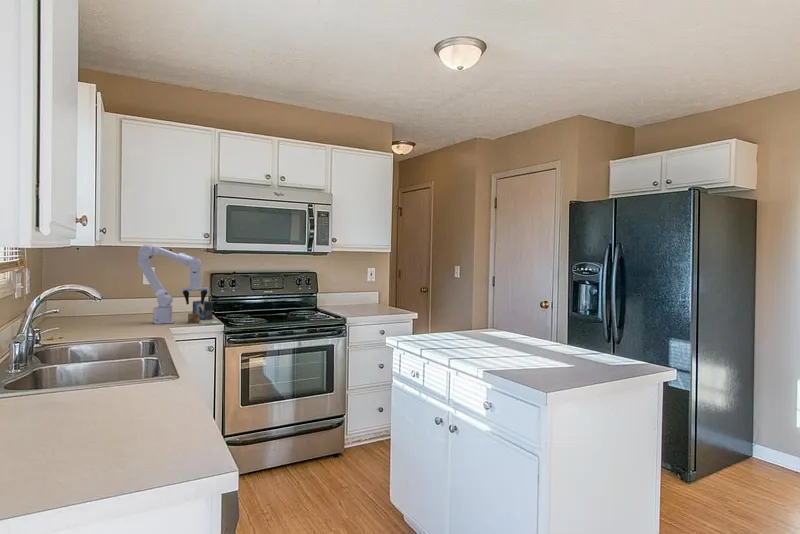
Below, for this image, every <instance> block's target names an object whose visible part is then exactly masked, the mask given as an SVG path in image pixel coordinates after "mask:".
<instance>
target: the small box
mask: <svg viewBox="0 0 800 534" xmlns="http://www.w3.org/2000/svg"><path fill="white" fill-rule="evenodd" d="M213 303H214V302H213V301H210V300H208V301H207V300H204V302H203V304H201V300H193V301H192V313H198V314H200V320H202V321H210V320H213V307H214V306H213Z"/></svg>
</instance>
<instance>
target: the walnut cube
mask: <svg viewBox="0 0 800 534" xmlns="http://www.w3.org/2000/svg"><path fill="white" fill-rule="evenodd" d="M199 322H201V321H200V314H198V313H193V312H192V313H187V323H189V324H200V323H199Z"/></svg>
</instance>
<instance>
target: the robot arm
mask: <svg viewBox="0 0 800 534" xmlns="http://www.w3.org/2000/svg"><path fill="white" fill-rule="evenodd" d="M137 254H138V255H137V265H138V267H139V268H140V270H141V272H142V274H143V275H144V277H145V278H146V280H147V281H148V283H149V285H150V287H151V288H152V290H153V292H154V294H155V297H156V300H157V304H158V305H157V306H154V307H153V309H152V323H153V324H156V325H157V324H174V321H173V305H172V303H173V300H174V298H173V296H172V295H171V294H169V293H168V291H167V290H166V289H165V288H164V286H163V284H162V282H161V281H160V279H159V278H158V276H157V275H156V272H155V271H154V270H153V267H152V266H151V264H150V262H151V259H152V258H153V257H154V255H156V256H157V255H161V256H164V257H167V258H170V259H173V260H175V262H176V263H178V264H180V265H184V266H186V267H189V269H190V270H189V287H180V292H182V294H183V296H184V299H185V303H186V305H189V303H190V299H189V298H190V297H189V296H190V292H200V301H201V304H203V302H204V301H205V298H206V296H207V294H208V292H209V291H210V287H205V286H204V287H202V286H201V284H202V282H201V281H202V280H201V279H202V271H201V269H202V268H201V266H202V261H201V260H200V259H199V258H198V257H195V256H193V255H192V256H191V255H188V254H186V253H185V252H179V253H176V252H173V251H170V250H167V249H165V248H164V247H163V248H162V247H159V246H156V245H155V246H154V245H151V244H143V245H141V246H140V248H139V249H138V251H137Z"/></svg>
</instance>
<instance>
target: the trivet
mask: <svg viewBox="0 0 800 534" xmlns="http://www.w3.org/2000/svg"><path fill="white" fill-rule="evenodd" d="M198 324H200V325H202V326H210V325H211V326H212V325H220V324H221V323H220V322H219V321H217V320H202V321H200V322H199V323H198Z"/></svg>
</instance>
